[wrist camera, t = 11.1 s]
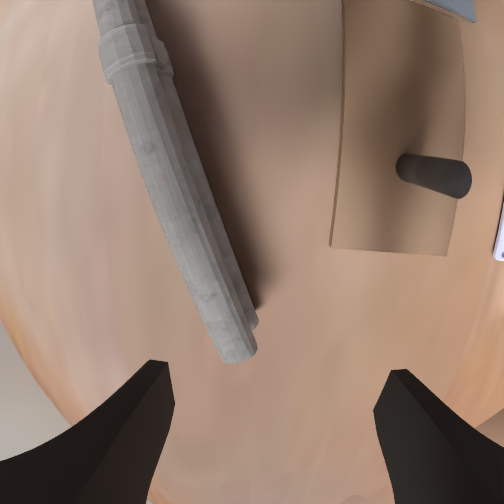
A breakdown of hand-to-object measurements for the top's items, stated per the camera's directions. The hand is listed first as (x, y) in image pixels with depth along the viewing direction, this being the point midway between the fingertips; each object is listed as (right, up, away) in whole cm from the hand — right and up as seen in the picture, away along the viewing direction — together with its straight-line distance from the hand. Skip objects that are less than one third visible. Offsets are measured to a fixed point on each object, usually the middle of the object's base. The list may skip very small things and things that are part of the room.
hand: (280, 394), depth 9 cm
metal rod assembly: (-5, +12, +6) cm, 15 cm away
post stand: (+8, +12, +5) cm, 15 cm away
